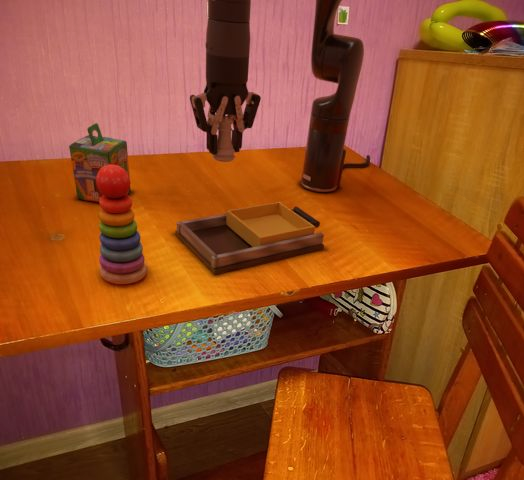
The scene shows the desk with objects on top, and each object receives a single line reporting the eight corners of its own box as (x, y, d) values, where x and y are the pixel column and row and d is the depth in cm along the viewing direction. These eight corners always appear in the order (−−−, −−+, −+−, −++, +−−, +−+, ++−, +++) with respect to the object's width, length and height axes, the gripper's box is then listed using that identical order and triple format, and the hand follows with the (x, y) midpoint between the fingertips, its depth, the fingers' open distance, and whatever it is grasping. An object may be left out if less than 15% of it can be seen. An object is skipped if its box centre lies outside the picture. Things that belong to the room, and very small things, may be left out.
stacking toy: (155, 269, 88) (149, 164, 76) (132, 291, 82) (121, 180, 70) (116, 259, 89) (105, 154, 77) (91, 279, 83) (74, 169, 71)
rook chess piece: (212, 153, 98) (213, 110, 92) (234, 155, 98) (237, 112, 93) (212, 161, 94) (213, 117, 89) (235, 163, 95) (237, 119, 89)
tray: (290, 212, 109) (292, 199, 107) (325, 237, 101) (328, 223, 99) (225, 224, 101) (226, 210, 100) (259, 252, 93) (260, 237, 91)
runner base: (277, 215, 110) (279, 203, 108) (323, 249, 100) (326, 235, 98) (175, 234, 99) (175, 220, 97) (215, 274, 88) (215, 260, 86)
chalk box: (115, 206, 106) (107, 135, 97) (75, 199, 107) (64, 128, 98) (132, 191, 113) (127, 123, 104) (95, 185, 114) (86, 117, 105)
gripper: (199, 55, 79) (199, 162, 90) (274, 55, 85) (265, 155, 96) (180, 46, 84) (182, 149, 94) (252, 46, 90) (246, 143, 101)
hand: (224, 151), depth 95 cm, fingers closed on rook chess piece, 4 cm apart
